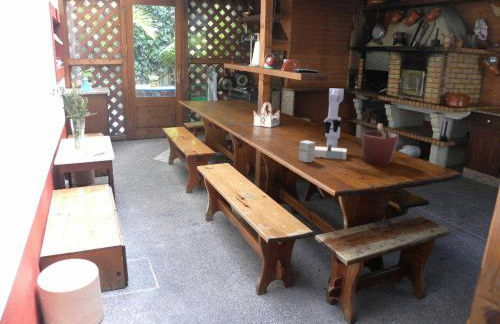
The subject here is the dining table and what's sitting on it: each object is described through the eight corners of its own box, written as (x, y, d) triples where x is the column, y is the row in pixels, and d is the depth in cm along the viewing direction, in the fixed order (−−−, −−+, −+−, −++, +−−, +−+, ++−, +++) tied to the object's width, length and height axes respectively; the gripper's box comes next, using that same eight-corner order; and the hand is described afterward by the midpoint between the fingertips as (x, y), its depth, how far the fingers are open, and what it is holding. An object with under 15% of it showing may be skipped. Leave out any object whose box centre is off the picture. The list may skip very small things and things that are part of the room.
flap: (326, 157, 272) (327, 144, 269) (342, 158, 270) (343, 145, 267) (326, 158, 269) (327, 144, 267) (342, 159, 267) (343, 146, 265)
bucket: (389, 169, 249) (394, 129, 242) (353, 164, 259) (357, 125, 252) (397, 160, 269) (401, 123, 262) (363, 155, 279) (367, 119, 273)
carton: (310, 153, 283) (310, 146, 282) (345, 155, 278) (346, 148, 277) (309, 156, 274) (309, 149, 272) (345, 159, 269) (346, 152, 267)
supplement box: (298, 160, 264) (299, 141, 260) (306, 158, 269) (307, 140, 265) (306, 163, 258) (307, 143, 255) (314, 161, 263) (315, 142, 260)
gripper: (321, 112, 267) (319, 132, 265) (335, 109, 254) (333, 130, 252) (329, 114, 270) (327, 134, 269) (344, 111, 257) (342, 132, 256)
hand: (331, 132), depth 261 cm, fingers open, 7 cm apart
